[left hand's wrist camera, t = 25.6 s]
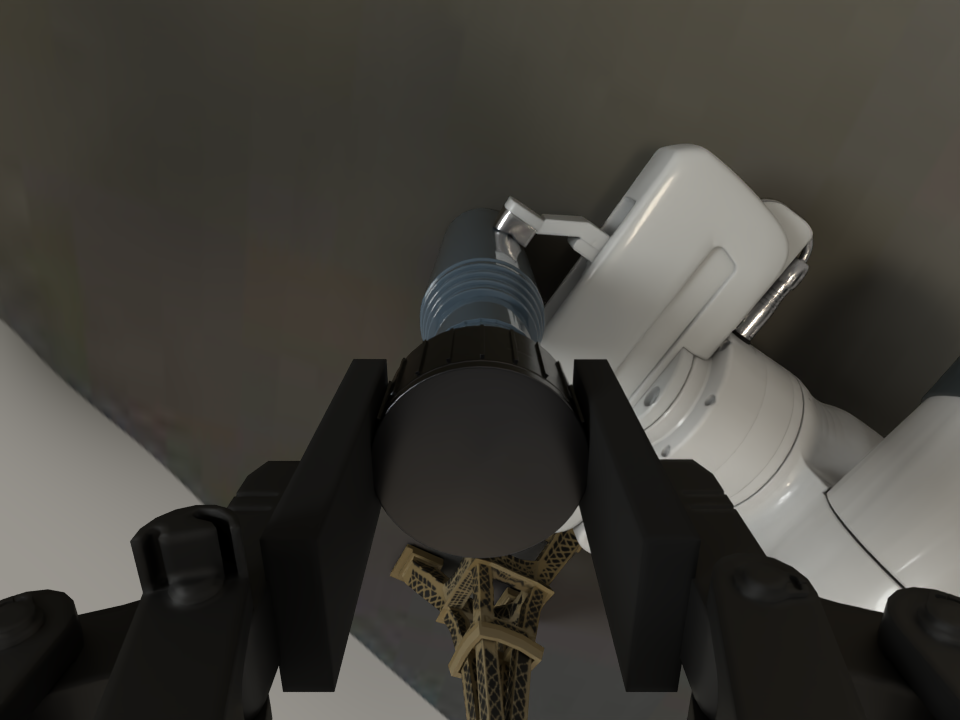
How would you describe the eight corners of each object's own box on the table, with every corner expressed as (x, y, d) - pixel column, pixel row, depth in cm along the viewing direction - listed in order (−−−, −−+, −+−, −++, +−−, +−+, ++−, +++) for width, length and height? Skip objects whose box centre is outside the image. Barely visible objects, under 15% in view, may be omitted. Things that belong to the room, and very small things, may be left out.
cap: (582, 484, 15) (600, 549, 13) (402, 503, 16) (388, 571, 13) (568, 311, 14) (586, 350, 11) (367, 335, 14) (345, 379, 12)
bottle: (440, 284, 36) (397, 446, 18) (445, 204, 35) (404, 294, 16) (517, 290, 36) (553, 459, 18) (526, 211, 35) (575, 308, 16)
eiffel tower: (598, 519, 42) (746, 1018, 19) (522, 628, 45) (565, 1166, 22) (459, 455, 40) (429, 915, 17) (390, 572, 43) (285, 1092, 20)
